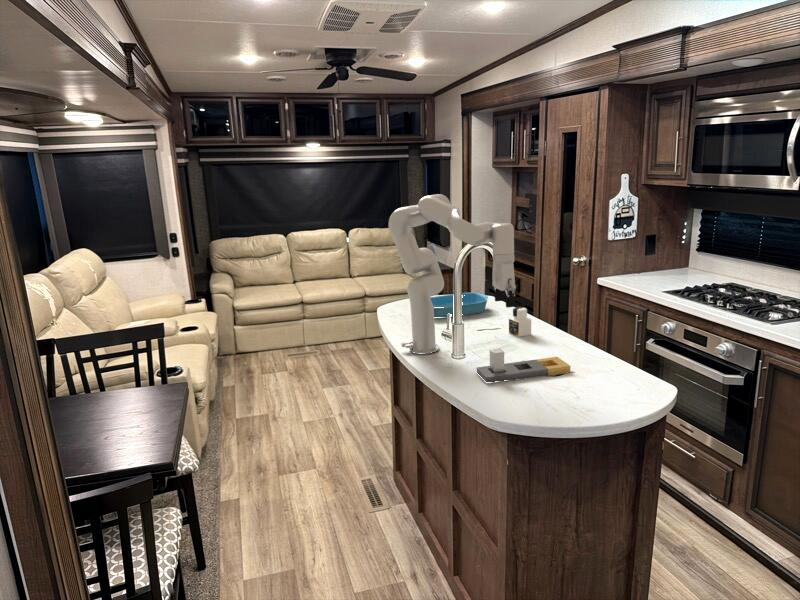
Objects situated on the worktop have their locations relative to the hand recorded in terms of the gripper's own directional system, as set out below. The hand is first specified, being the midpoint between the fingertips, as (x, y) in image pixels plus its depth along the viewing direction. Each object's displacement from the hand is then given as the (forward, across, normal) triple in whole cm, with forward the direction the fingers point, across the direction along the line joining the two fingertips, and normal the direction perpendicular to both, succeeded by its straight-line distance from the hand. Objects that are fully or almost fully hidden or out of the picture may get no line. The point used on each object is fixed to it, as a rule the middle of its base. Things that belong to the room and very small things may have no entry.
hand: (504, 303), depth 200 cm
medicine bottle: (+25, -33, +22) cm, 47 cm away
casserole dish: (+24, -79, +6) cm, 83 cm away
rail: (+25, +8, +3) cm, 26 cm away
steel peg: (+25, +8, -7) cm, 27 cm away
